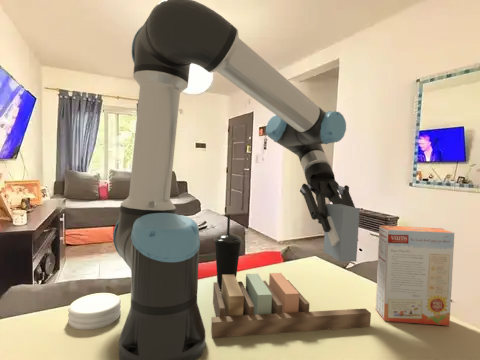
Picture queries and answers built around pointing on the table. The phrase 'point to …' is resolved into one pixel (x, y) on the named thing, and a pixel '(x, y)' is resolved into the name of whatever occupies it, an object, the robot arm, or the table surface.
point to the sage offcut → (258, 294)
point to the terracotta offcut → (284, 292)
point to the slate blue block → (343, 232)
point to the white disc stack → (94, 311)
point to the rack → (281, 317)
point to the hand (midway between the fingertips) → (345, 243)
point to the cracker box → (414, 274)
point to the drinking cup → (227, 253)
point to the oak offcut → (232, 296)
